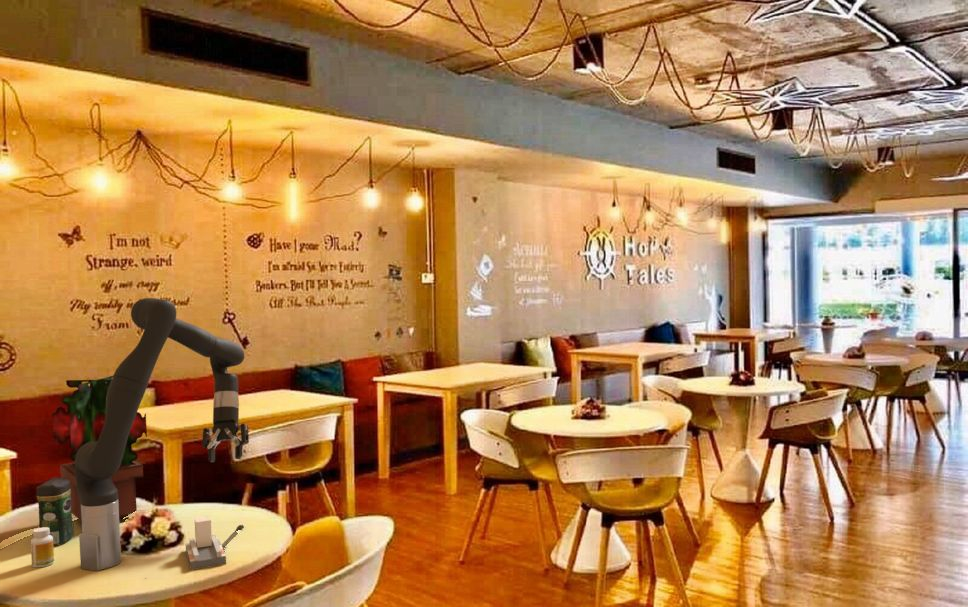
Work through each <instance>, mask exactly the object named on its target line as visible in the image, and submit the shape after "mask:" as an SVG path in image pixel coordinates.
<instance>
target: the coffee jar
mask: <svg viewBox="0 0 968 607" xmlns="http://www.w3.org/2000/svg"><path fill="white" fill-rule="evenodd" d="M70 495H71V487H70V481H69V480H68V479H67V478H62V477H53V478H51V479H49V480H47V481H44V482H43V483H42V484H40V485H38V486H37V487H36V499H37V504H38V524H39V525H38V526H39V527H38V528H42V527H48V528H50V534H49V535H51V536H52V537H53V547H55V546H60V545H64V544H65V543H67V542H69V541H70V540H71V539H72V538H73V537H74V536H75V534H74V533H75V531H74V524H73V523H74V522H73V514H72V512H71V501H70Z"/></svg>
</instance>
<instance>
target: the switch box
mask: <svg viewBox="0 0 968 607" xmlns="http://www.w3.org/2000/svg"><path fill="white" fill-rule="evenodd" d="M188 540H189V541H188V543H185V552H186V556H187V560H188V565H189V569H190V570H191V571H192V569H193V570H197V569H198V568H199V569H204V568H209V566H210V567H214V566H216V567H217V566H221V565H227V555H226V554H225V553H226V552H224V551H225V550H223V548H222V543H221V541H220V538H217V536H216V534H212V546H206V547H200V548H197V547H196V542H195V537H192V538H191V537H190V538H189V539H188ZM203 567H204V568H203Z"/></svg>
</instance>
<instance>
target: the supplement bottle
mask: <svg viewBox="0 0 968 607" xmlns="http://www.w3.org/2000/svg"><path fill="white" fill-rule="evenodd" d="M49 534H50V528H48V527H42V528H39V527H38V528H35V529H33V530H32V536H33V537H32V538H31V540H30V553H31V566H32V567H33V568H36V567H37V568H38V569H39V568H45V567H49V566H52V565H53V564H54V563H55V553H54V552H55V550H54V548H55V547H54V546H53V537H52V536H51V535H49Z"/></svg>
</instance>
